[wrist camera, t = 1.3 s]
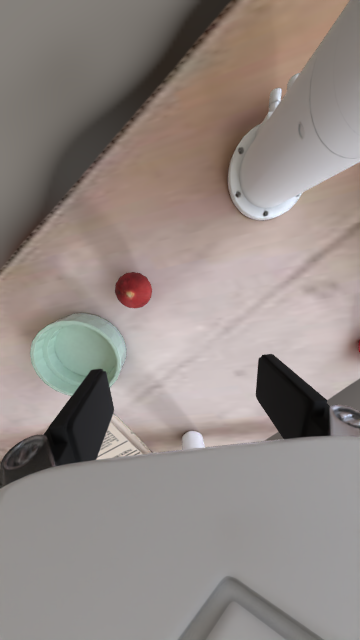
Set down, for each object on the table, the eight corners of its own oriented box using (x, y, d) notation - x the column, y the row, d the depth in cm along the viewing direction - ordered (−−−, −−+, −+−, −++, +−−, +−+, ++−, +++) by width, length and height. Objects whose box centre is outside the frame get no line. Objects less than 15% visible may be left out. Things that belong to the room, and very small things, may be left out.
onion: (120, 299, 33) (105, 310, 26) (123, 268, 32) (108, 270, 24) (151, 305, 34) (145, 317, 26) (155, 274, 32) (151, 278, 25)
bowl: (39, 313, 33) (18, 322, 29) (122, 311, 34) (114, 319, 29) (58, 382, 38) (42, 399, 33) (131, 378, 39) (125, 394, 34)
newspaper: (109, 408, 41) (105, 418, 38) (156, 456, 46) (156, 468, 44) (-6, 474, 45) (-17, 487, 43) (50, 511, 51) (43, 524, 48)
